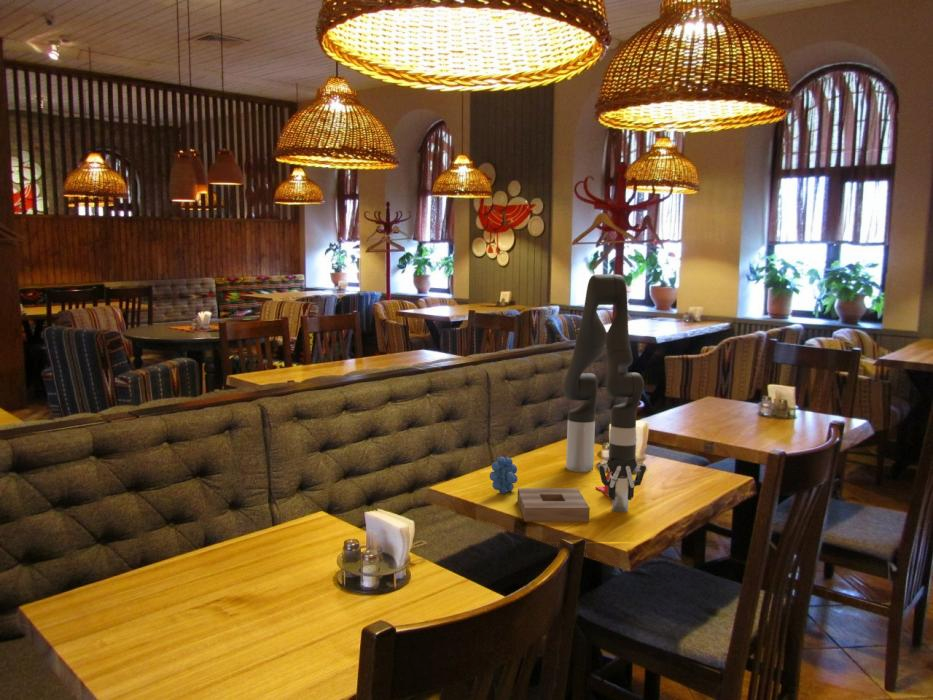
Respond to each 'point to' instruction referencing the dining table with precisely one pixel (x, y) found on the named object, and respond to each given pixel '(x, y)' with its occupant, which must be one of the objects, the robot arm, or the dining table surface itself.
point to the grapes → (503, 474)
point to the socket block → (552, 505)
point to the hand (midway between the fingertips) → (620, 499)
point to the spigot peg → (621, 495)
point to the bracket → (604, 488)
